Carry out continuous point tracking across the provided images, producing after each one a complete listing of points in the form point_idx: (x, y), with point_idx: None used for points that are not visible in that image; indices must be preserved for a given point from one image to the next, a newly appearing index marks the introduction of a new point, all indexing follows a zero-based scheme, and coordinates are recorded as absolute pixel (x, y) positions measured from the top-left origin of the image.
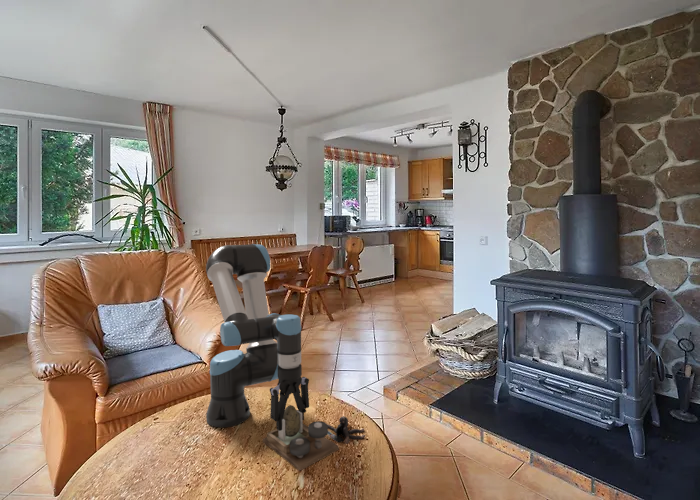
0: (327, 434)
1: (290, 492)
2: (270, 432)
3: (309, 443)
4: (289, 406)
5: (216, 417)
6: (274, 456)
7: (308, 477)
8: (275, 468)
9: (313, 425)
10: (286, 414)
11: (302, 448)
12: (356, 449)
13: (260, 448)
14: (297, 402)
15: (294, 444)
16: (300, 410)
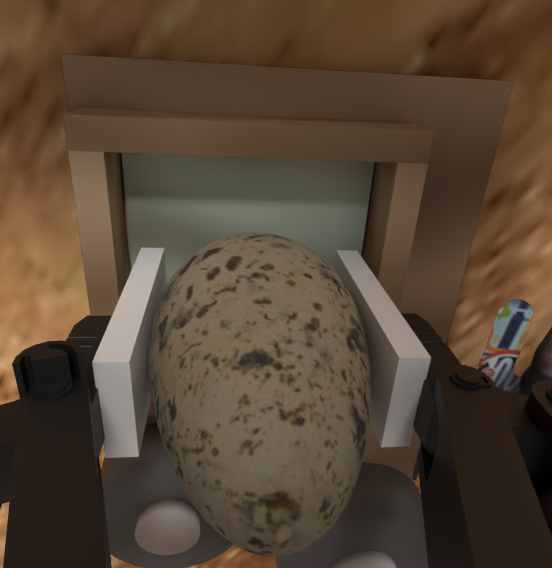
0: (494, 330)
1: (2, 558)
2: (107, 132)
3: (218, 555)
4: (255, 542)
5: None
6: (65, 296)
7: None
8: (13, 396)
9: (347, 549)
10: (177, 474)
11: (146, 566)
12: None
13: (11, 129)
14: (441, 535)
15: (124, 516)
16: (423, 429)
